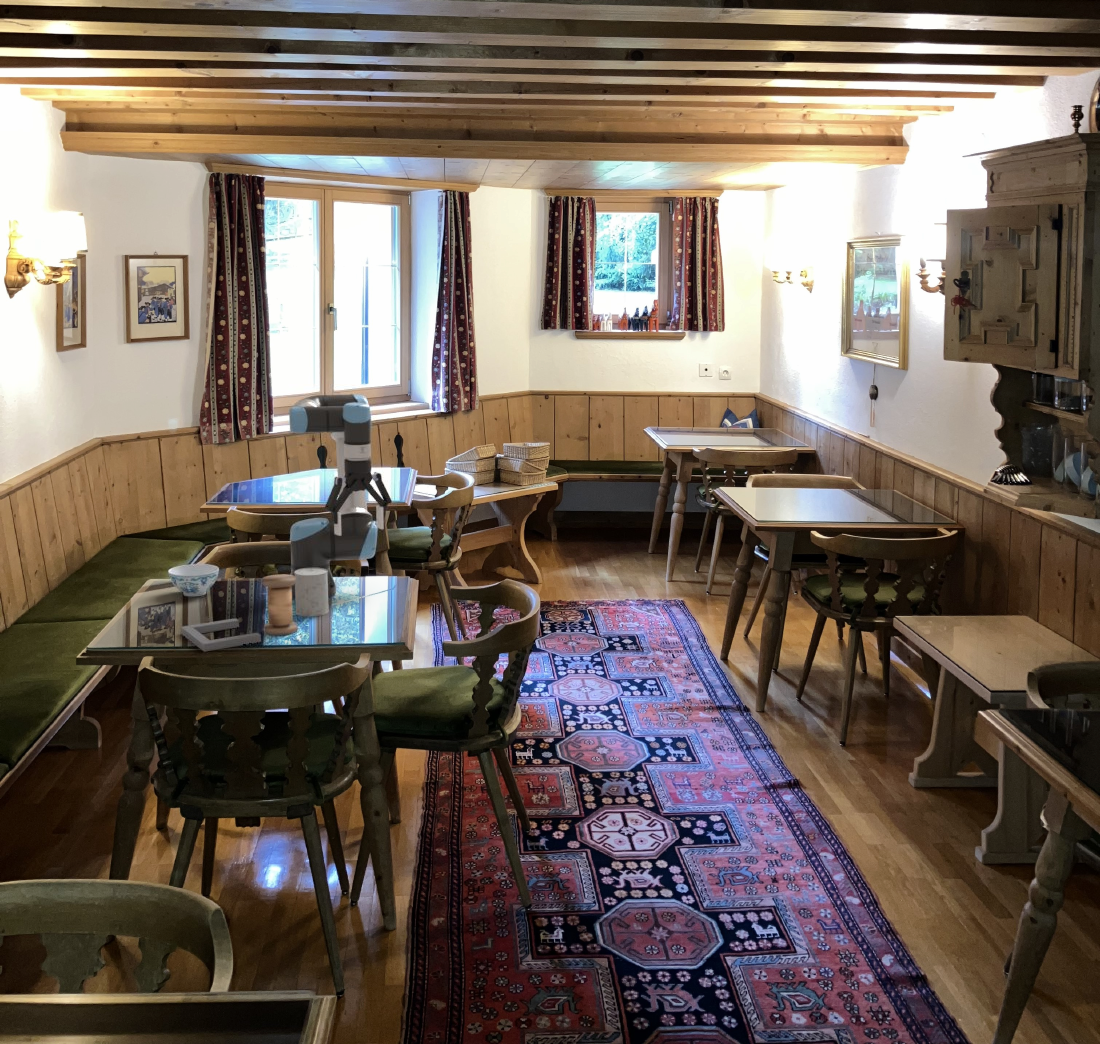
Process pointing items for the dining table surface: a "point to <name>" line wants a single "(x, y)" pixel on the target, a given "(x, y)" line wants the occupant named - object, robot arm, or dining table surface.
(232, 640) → the c-shaped bracket
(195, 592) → the chinaware
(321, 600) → the white scuffed cylinder
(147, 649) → the dining table surface
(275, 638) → the dining table surface
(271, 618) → the bobbin
